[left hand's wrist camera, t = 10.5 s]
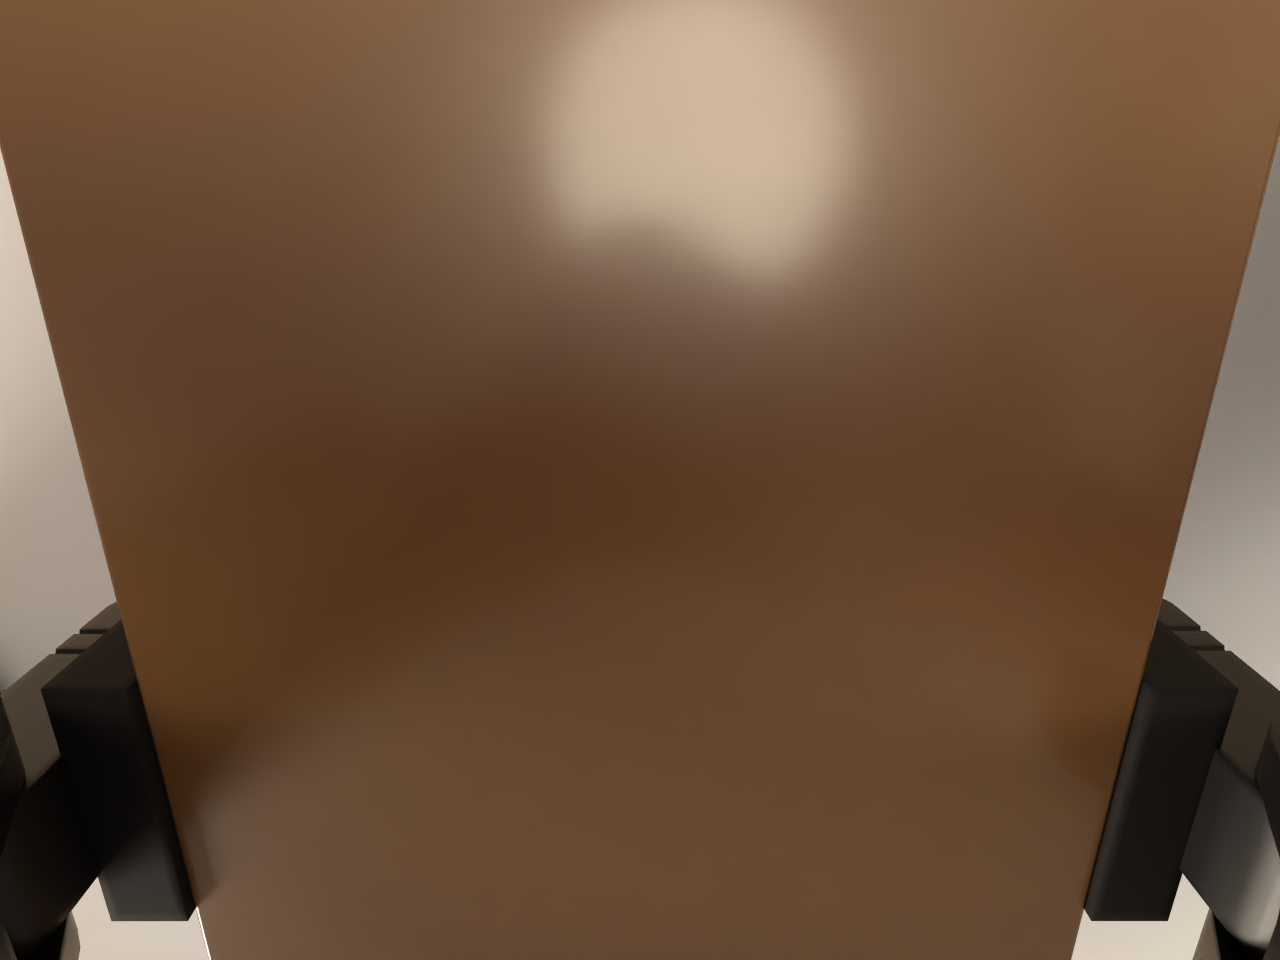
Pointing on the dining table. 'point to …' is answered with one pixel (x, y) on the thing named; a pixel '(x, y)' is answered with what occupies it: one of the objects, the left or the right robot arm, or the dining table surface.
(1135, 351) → the wide beam
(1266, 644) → the dining table surface
